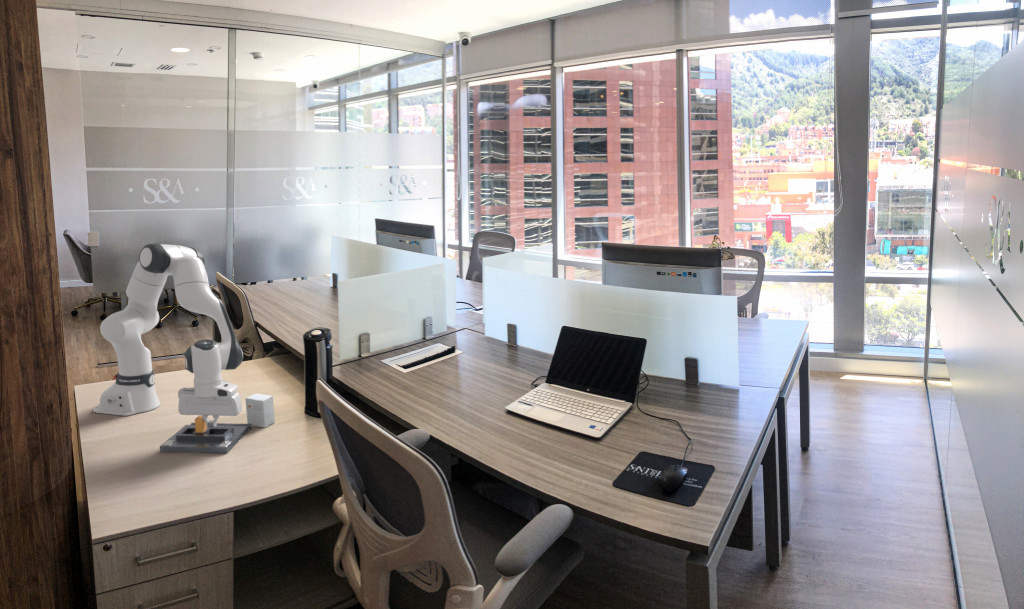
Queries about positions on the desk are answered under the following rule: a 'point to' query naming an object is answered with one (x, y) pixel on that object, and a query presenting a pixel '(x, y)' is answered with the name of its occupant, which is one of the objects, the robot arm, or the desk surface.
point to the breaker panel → (204, 440)
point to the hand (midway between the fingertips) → (211, 426)
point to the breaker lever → (201, 426)
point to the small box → (260, 410)
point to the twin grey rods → (231, 424)
